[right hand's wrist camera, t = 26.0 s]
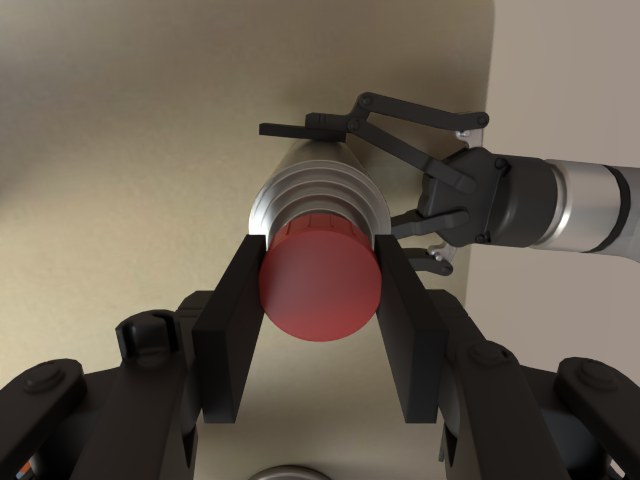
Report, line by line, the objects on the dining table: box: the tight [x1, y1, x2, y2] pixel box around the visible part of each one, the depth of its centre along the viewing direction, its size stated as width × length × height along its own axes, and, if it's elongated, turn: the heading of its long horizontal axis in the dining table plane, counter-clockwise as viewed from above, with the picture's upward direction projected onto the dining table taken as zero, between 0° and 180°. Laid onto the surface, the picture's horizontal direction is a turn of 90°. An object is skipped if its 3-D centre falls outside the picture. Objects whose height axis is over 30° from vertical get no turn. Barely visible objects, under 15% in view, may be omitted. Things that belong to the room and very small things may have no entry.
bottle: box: [249, 139, 391, 252], centre depth 25 cm, size 7×7×24 cm
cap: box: [259, 214, 382, 342], centre depth 14 cm, size 4×4×2 cm
